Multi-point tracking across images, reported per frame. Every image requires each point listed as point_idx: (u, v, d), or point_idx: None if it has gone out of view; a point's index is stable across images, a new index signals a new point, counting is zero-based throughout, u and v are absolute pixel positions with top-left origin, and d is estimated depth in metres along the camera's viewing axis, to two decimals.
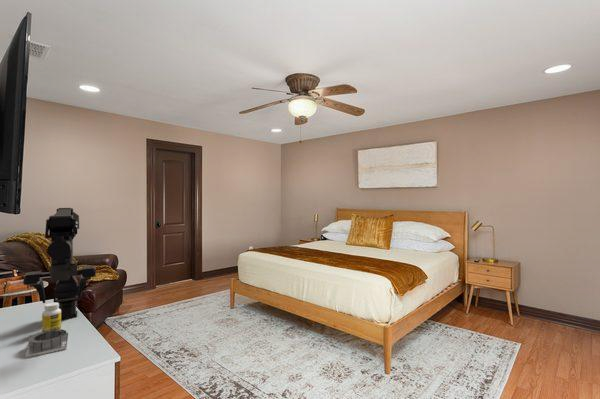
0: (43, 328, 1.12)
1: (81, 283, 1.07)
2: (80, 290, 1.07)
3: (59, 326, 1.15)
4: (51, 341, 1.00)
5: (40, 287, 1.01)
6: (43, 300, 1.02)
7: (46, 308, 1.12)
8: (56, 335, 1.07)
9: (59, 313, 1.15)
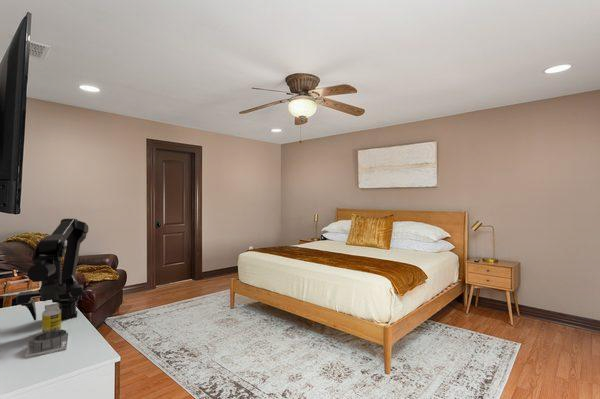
0: (43, 328, 1.12)
1: (69, 301, 1.16)
2: (69, 308, 1.16)
3: (59, 326, 1.15)
4: (51, 341, 1.00)
5: (31, 306, 1.10)
6: (34, 318, 1.11)
7: (46, 308, 1.12)
8: (56, 335, 1.07)
9: (59, 313, 1.15)
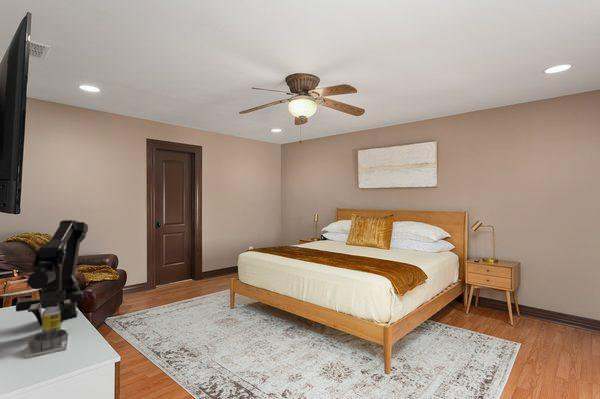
0: (43, 328, 1.12)
1: (64, 309, 1.15)
2: (63, 315, 1.15)
3: (59, 326, 1.15)
4: (51, 341, 1.00)
5: (37, 312, 1.11)
6: (40, 323, 1.12)
7: (46, 308, 1.12)
8: (56, 335, 1.07)
9: (59, 313, 1.15)
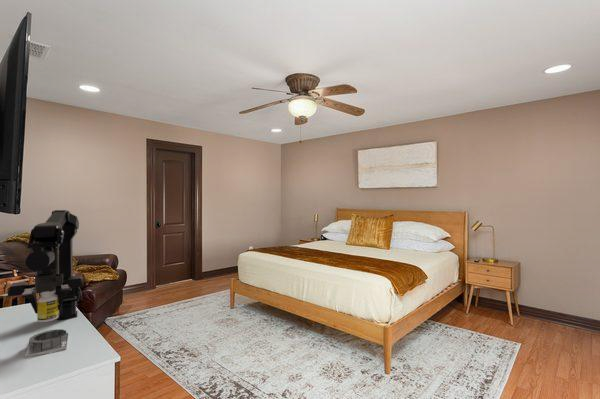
0: (38, 315, 1.01)
1: (61, 294, 1.04)
2: (60, 302, 1.05)
3: (56, 313, 1.04)
4: (51, 341, 1.00)
5: (32, 297, 1.00)
6: (35, 310, 1.01)
7: (41, 293, 1.02)
8: (56, 335, 1.07)
9: (56, 299, 1.04)
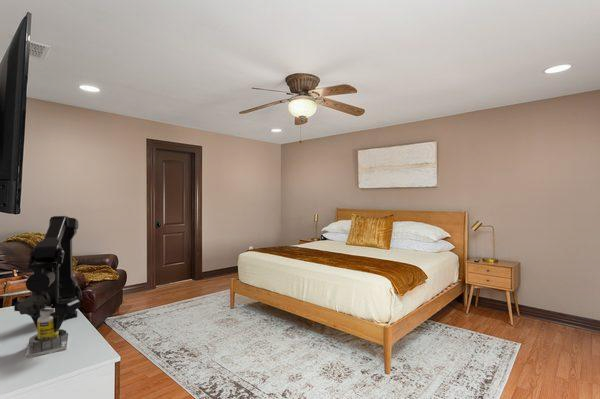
0: None
1: (53, 317, 1.02)
2: (54, 324, 1.02)
3: (50, 336, 1.02)
4: (51, 341, 1.00)
5: (32, 315, 1.02)
6: None
7: (40, 313, 1.02)
8: None
9: (50, 321, 1.02)
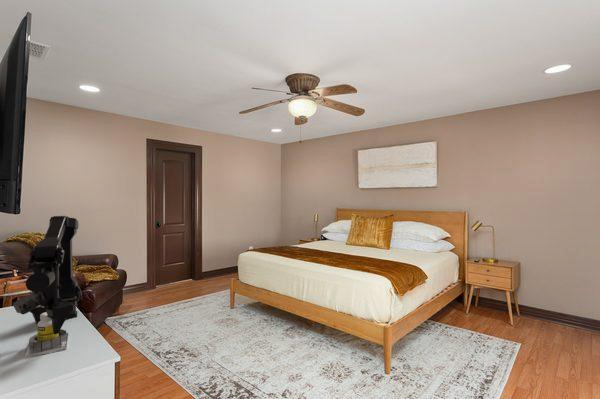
0: None
1: (51, 319, 1.00)
2: (53, 326, 1.00)
3: None
4: (51, 341, 1.00)
5: (32, 312, 1.04)
6: None
7: None
8: None
9: (47, 326, 1.01)
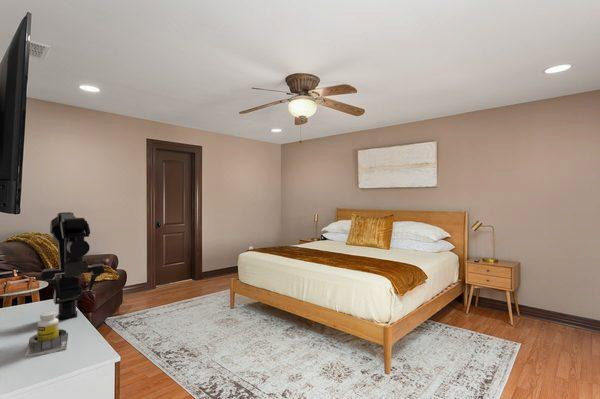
0: None
1: (91, 279, 1.19)
2: (90, 285, 1.19)
3: None
4: (51, 341, 1.00)
5: (55, 282, 1.12)
6: (58, 294, 1.14)
7: None
8: None
9: (47, 326, 1.01)
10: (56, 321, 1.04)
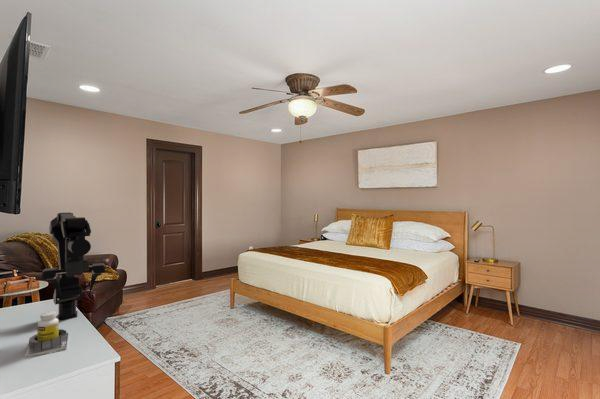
0: None
1: (92, 278, 1.19)
2: (91, 285, 1.19)
3: None
4: (51, 341, 1.00)
5: (56, 282, 1.13)
6: (59, 293, 1.14)
7: None
8: None
9: (47, 326, 1.01)
10: (56, 321, 1.04)
